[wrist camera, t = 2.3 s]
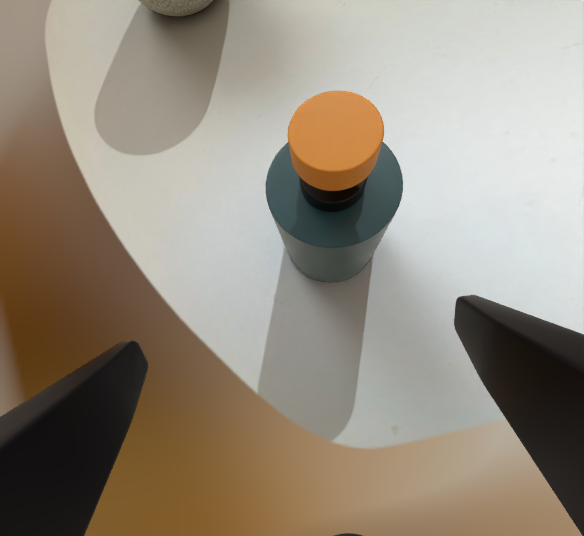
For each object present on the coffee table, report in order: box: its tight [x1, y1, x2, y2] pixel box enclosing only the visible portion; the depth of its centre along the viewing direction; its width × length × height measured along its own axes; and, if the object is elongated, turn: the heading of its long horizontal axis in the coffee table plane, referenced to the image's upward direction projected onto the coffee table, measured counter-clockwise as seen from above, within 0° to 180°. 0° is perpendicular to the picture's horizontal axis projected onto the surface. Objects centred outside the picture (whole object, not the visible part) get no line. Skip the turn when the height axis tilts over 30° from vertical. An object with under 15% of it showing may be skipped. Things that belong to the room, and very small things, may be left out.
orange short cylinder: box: [288, 91, 384, 191], centre depth 12 cm, size 4×4×2 cm
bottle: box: [266, 142, 403, 282], centre depth 19 cm, size 7×7×10 cm
